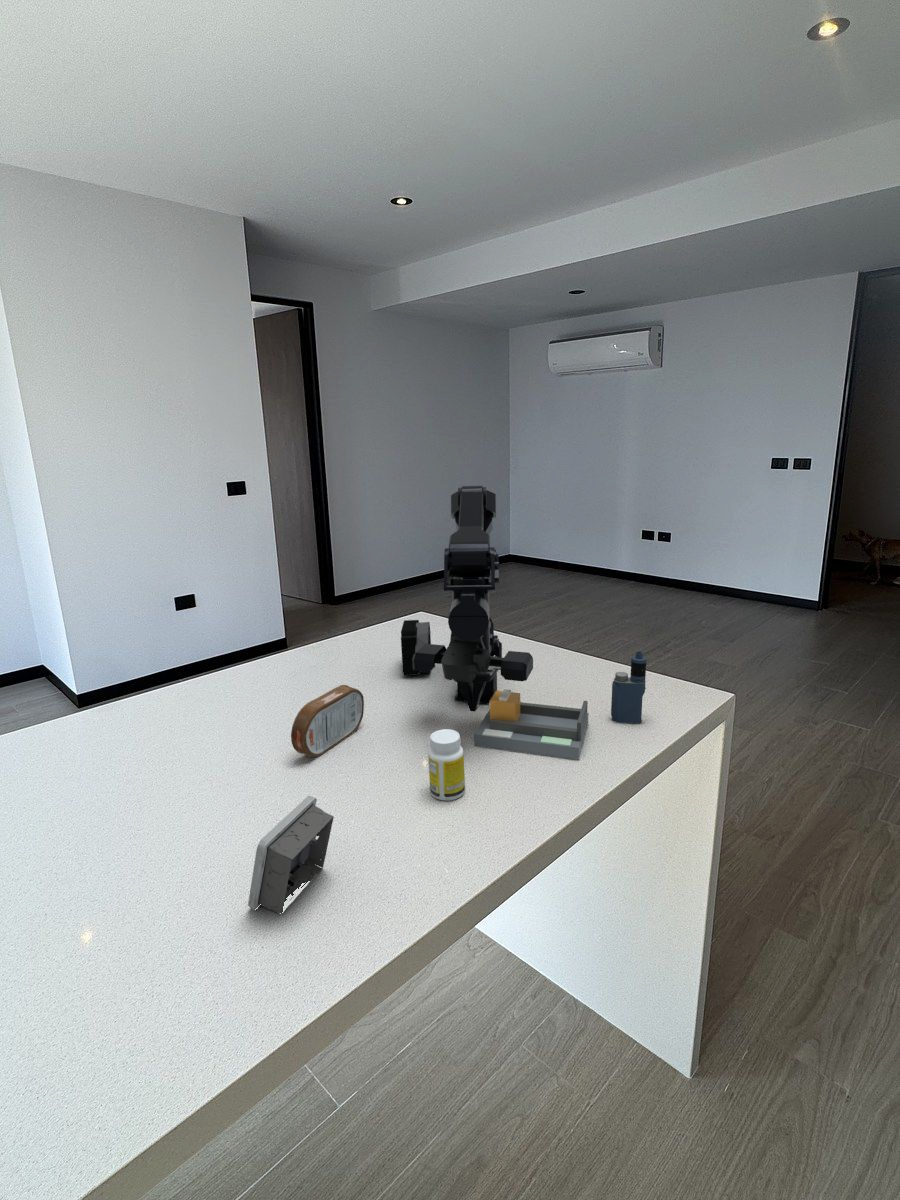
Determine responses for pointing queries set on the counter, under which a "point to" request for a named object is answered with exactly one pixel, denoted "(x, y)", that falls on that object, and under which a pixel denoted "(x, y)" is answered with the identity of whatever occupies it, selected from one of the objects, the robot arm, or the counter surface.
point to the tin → (327, 720)
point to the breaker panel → (537, 731)
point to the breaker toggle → (505, 705)
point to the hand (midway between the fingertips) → (473, 710)
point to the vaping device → (629, 692)
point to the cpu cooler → (413, 643)
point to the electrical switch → (290, 855)
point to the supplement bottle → (446, 765)
